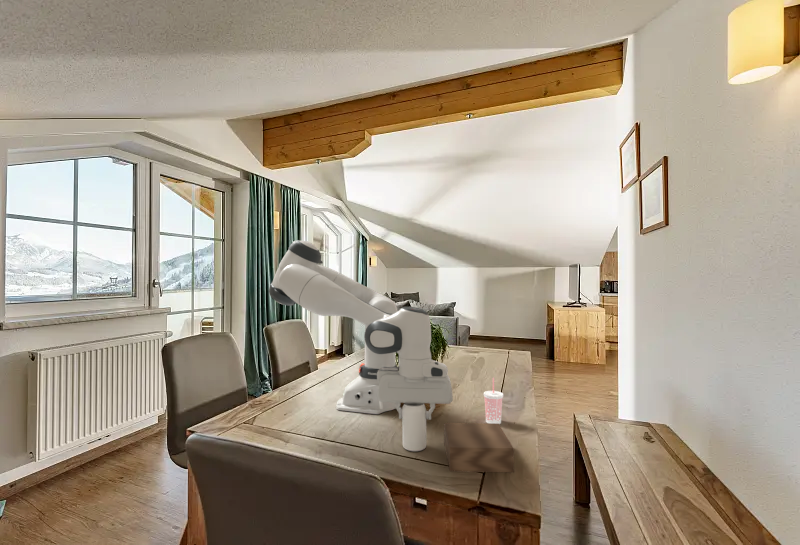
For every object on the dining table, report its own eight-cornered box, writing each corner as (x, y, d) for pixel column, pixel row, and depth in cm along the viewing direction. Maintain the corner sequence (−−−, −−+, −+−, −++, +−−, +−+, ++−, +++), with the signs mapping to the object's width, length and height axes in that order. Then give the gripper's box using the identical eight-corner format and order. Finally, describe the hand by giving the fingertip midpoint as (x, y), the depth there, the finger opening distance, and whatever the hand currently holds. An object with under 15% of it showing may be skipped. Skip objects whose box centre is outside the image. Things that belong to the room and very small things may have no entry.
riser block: (449, 472, 90) (449, 447, 91) (444, 444, 105) (444, 422, 106) (513, 473, 90) (513, 448, 90) (498, 445, 105) (498, 423, 105)
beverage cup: (499, 417, 124) (499, 374, 124) (506, 425, 118) (506, 379, 118) (480, 418, 124) (480, 375, 124) (487, 426, 118) (487, 380, 118)
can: (424, 453, 99) (424, 407, 99) (400, 451, 101) (399, 405, 101) (427, 442, 106) (427, 399, 106) (405, 440, 107) (404, 397, 107)
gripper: (375, 369, 101) (375, 421, 101) (452, 370, 99) (453, 424, 99) (378, 363, 107) (378, 413, 107) (451, 365, 106) (452, 415, 106)
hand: (415, 418), depth 103 cm, fingers closed on can, 6 cm apart
